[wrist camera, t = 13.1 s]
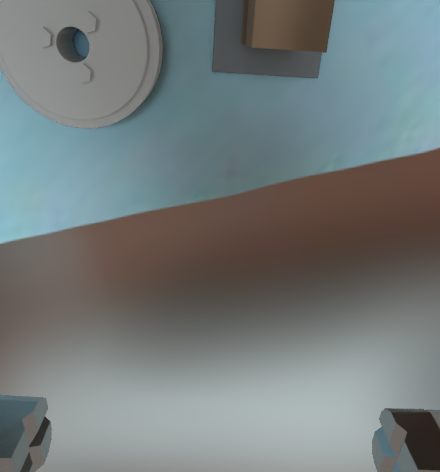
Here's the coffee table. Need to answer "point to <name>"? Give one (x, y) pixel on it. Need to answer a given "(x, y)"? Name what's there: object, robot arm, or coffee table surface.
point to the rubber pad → (254, 49)
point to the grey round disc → (76, 67)
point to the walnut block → (287, 24)
